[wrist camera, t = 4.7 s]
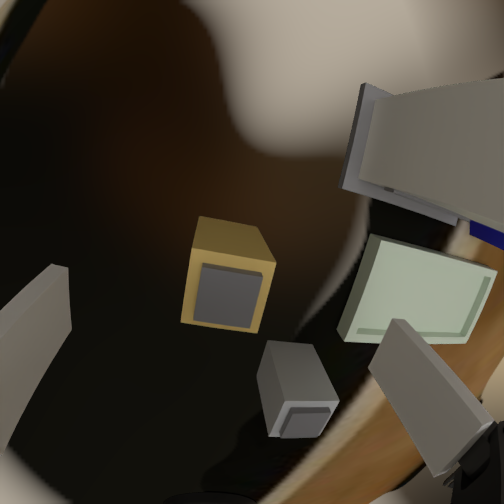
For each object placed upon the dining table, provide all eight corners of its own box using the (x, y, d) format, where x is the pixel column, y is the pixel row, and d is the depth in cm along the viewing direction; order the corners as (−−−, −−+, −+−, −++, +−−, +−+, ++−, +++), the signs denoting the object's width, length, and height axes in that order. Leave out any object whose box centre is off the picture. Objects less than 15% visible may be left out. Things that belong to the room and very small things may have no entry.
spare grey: (298, 378, 26) (321, 441, 19) (256, 375, 25) (270, 442, 18) (312, 344, 25) (342, 406, 18) (267, 340, 24) (286, 407, 17)
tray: (456, 335, 28) (465, 343, 26) (336, 329, 25) (344, 341, 23) (486, 265, 25) (497, 271, 23) (370, 233, 22) (381, 240, 20)
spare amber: (244, 279, 22) (258, 339, 15) (189, 270, 21) (179, 328, 14) (256, 226, 21) (278, 267, 14) (199, 215, 20) (190, 252, 13)
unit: (449, 223, 23) (577, 287, 9) (337, 187, 21) (498, 253, 7) (468, 140, 21) (602, 163, 7) (360, 84, 18) (523, 40, 5)
